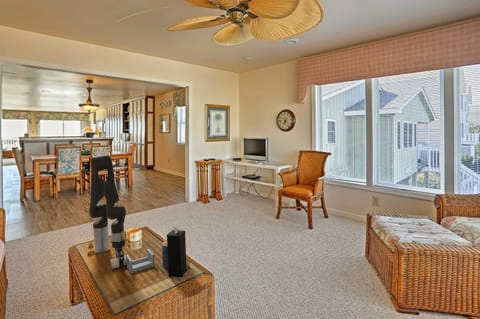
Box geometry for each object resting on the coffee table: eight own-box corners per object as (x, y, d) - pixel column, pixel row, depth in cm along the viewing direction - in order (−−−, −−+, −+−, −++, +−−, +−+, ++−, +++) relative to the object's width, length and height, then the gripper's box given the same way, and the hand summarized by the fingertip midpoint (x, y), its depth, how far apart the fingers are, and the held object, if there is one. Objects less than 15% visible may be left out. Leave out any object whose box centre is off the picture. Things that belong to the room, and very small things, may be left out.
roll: (112, 267, 155) (110, 258, 157) (111, 270, 159) (109, 261, 161) (129, 262, 160) (127, 253, 163) (127, 265, 164) (125, 256, 167)
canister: (170, 257, 170) (169, 231, 169) (187, 260, 166) (186, 234, 164) (158, 267, 158) (156, 239, 156) (176, 271, 154) (175, 242, 152)
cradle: (126, 266, 160) (125, 255, 159) (149, 259, 168) (148, 248, 168) (130, 273, 152) (129, 261, 151) (154, 266, 160) (153, 254, 160)
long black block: (181, 277, 147) (179, 230, 144) (168, 276, 148) (166, 229, 145) (186, 270, 155) (185, 225, 151) (174, 269, 156) (172, 224, 153)
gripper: (109, 236, 162) (111, 261, 164) (113, 244, 151) (115, 270, 153) (122, 233, 167) (123, 257, 169) (127, 240, 155) (129, 266, 157)
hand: (120, 263), depth 161 cm, fingers open, 8 cm apart
